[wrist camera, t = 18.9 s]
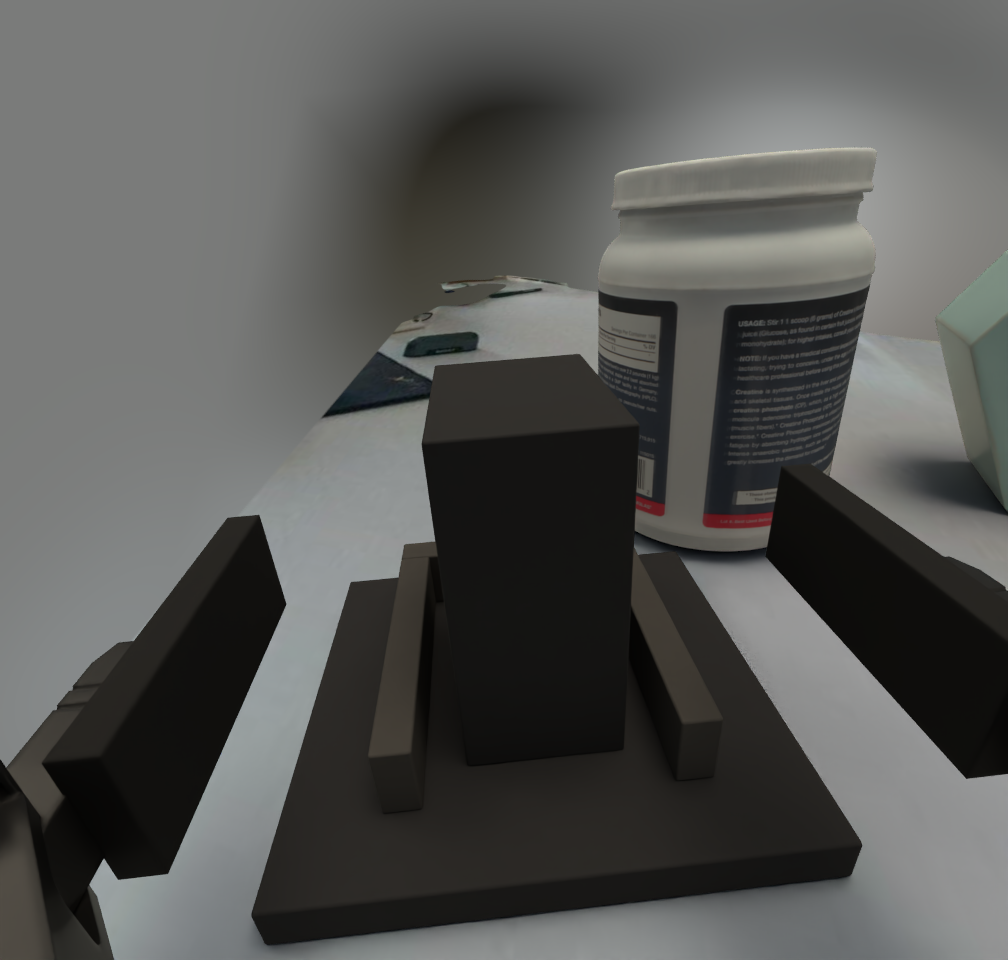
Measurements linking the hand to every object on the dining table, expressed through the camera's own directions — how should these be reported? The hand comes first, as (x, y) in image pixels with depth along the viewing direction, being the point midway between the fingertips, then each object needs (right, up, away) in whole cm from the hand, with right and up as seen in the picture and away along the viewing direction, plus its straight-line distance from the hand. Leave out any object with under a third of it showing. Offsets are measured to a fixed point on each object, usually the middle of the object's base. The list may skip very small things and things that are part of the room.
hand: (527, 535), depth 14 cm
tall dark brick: (0, -6, +6) cm, 9 cm away
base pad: (+1, -7, +7) cm, 10 cm away
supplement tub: (+12, 0, +20) cm, 23 cm away
